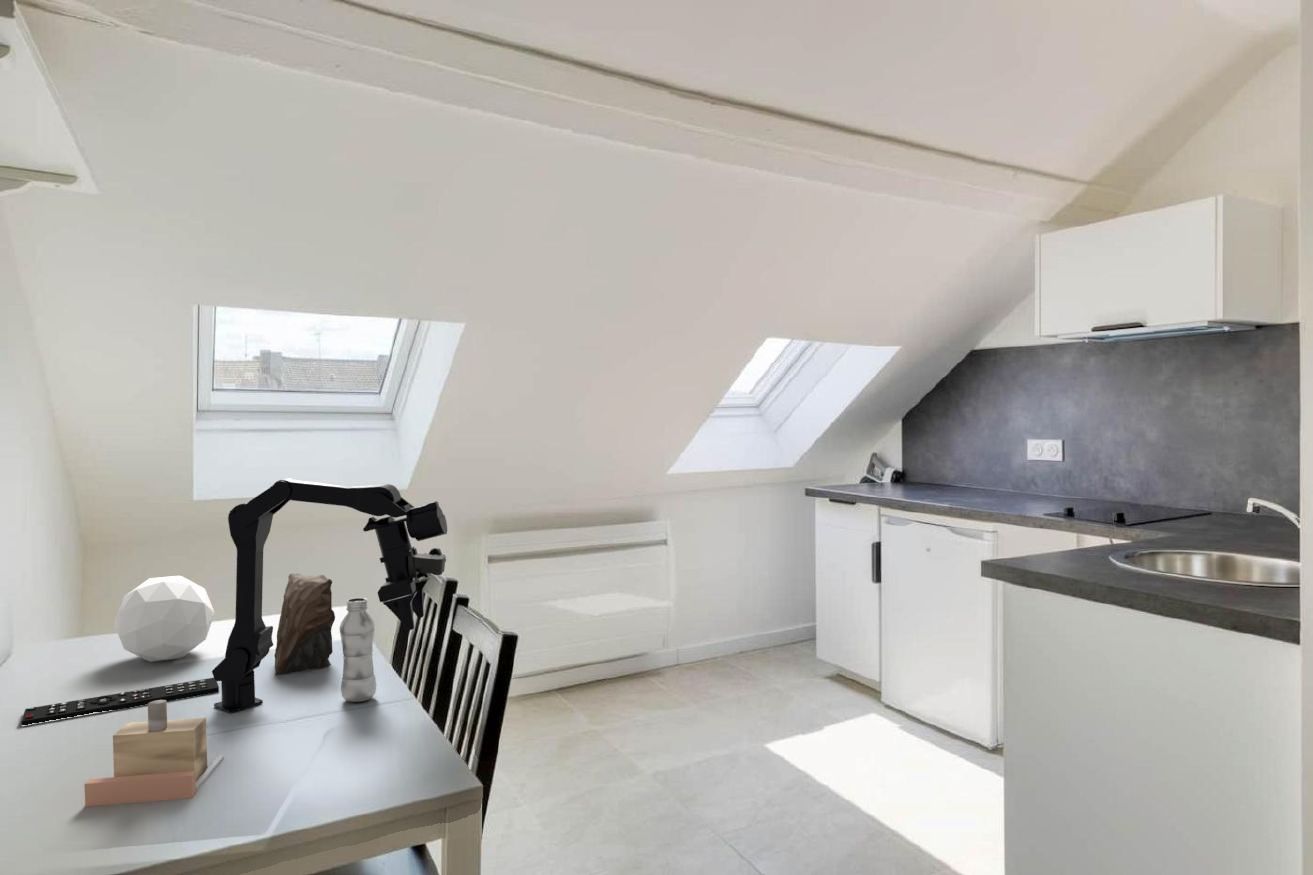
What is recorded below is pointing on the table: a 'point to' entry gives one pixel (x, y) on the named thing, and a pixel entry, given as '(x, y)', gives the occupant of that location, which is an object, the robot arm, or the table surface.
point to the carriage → (160, 745)
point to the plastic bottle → (357, 652)
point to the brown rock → (305, 625)
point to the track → (145, 787)
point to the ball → (164, 618)
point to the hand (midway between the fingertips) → (416, 623)
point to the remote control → (119, 701)
